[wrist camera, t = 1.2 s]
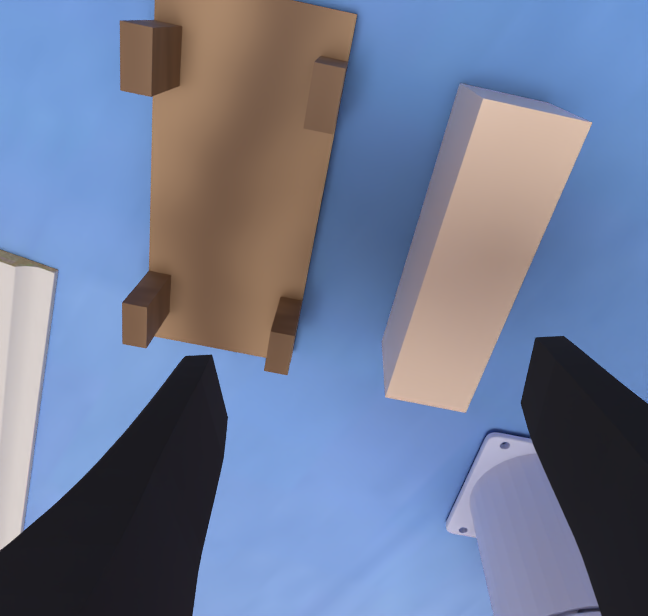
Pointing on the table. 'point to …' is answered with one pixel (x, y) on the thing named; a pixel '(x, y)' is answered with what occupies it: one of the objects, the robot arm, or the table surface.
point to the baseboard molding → (21, 378)
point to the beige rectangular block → (475, 241)
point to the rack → (233, 166)
